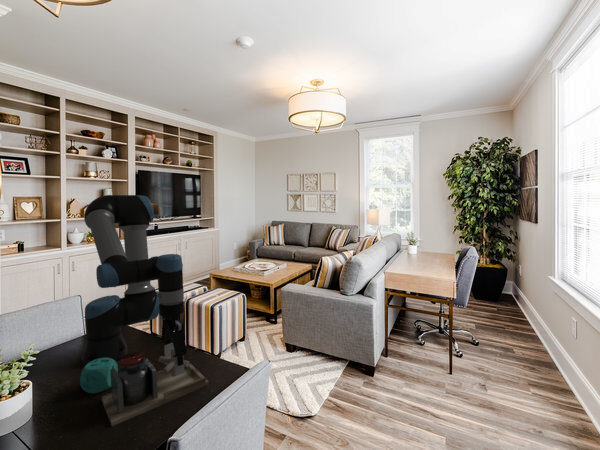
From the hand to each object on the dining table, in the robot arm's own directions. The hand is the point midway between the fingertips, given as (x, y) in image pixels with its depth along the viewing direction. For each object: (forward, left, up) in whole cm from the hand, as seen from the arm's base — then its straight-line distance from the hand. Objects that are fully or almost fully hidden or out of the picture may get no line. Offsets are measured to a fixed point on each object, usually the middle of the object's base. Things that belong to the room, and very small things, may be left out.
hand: (174, 368), depth 101 cm
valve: (0, -12, -6) cm, 13 cm away
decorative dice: (-17, -19, -6) cm, 26 cm away
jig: (0, -6, -6) cm, 8 cm away
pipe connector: (-1, 0, -3) cm, 3 cm away
